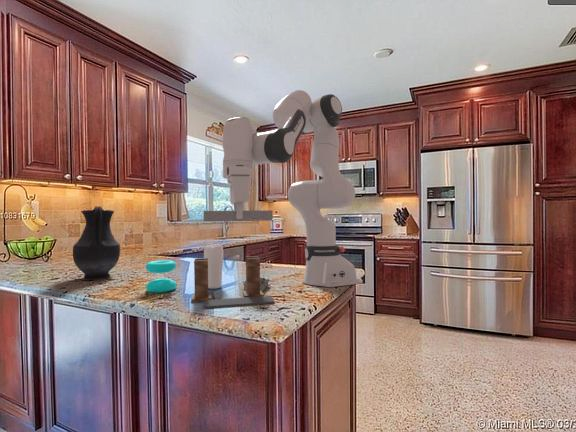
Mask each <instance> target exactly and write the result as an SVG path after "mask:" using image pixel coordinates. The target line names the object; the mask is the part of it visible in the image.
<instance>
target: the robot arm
mask: <svg viewBox="0 0 576 432" xmlns="http://www.w3.org/2000/svg"><path fill="white" fill-rule="evenodd" d="M342 113H343V107H342V104H341V101H340V100H339V98H338V97H337V96H336V95H335V94H333V93H331V94H330V93H329V94H325V95H323V96H321V97H319V98H315V99H314V100H312V98H311V95H310V94H309V93H308V92H306V91H305V90H301V89H298V90H294V91H292V92H290V93H289V94H287V95H285V96H284V97H283V98H282V99H281V100H279V102H278V103H277V104H276V105H275V107H274V109H273V111H272V119H273V123H274V125H275V127H277V129H274V130H269V131H264V132H259V131H257V130H255V128H254V127H253V126H252V123H251V121H252V120H251V119H250V118H249V117H245V116H238V117H232V118H229V119H227V120H226V121H225V122H224V125H223V128H222V151H223V160H222V177H223V179H226V180H227V184H228V185H230V186H229V187H230V188H229V199H230V204H231V205H233V211H236V218H237V219H242V218H243V211H244V204H245V203H247V202H248V200H249V196H250V186H251V179H253V178H254V166H257V165H258V166H259V165H265V164H280V163H281V164H285V163H287V162H289V161H290V160H291V159H292V157H293V155H294V152H295V149H296V146H297V143H298V141H299V139H300V138H301V135H307V134H310V133H312V132H313V135H314V138H313V141H312V145H311V153H310V160H309V167H310V170H311V172H313V173H314V175H316V176H318V177H321V178H322V179H314V180H302V181H297V182H294V183H292V184H291V185H290V186H289V188H288V192H287V199H288V202H289V203H290V205H291V206H292V208H295V209H296V210H297V211H298V212H299V213H300V216H301V217H302V219H303V221H304V225H305V233H306V244H305V249H304V252H305V253H304V255H305V261H306V262H305V270H304V276H303V279H302V283H304V284H305V285H309V286H317V287H324V288H325V287H326V288H334V287H341V286H342V287H345V286H351V285H359V284H360V285H361V284H363V279H362V278H361V277H358V276H357V271H356V268H355V265H354V264H353V263H351V262H350V261H349V260H347V258H345V257H344V256H342V254H341V253H344V252H345V251H346V248H345V246H338V245H337V243H336V241H337V240H336V238H337V235H336V234H337V232H336V231H337V229H336V224H335V223H334V222H333V221H332V220H331V219H328V218H327V217H325V216H323V215H322V212H321V210H322V209H323V210H325V209H327V210H329V209H331V210H332V209H342V208H347V207H350V206H351V205H352V204H353V203H354V201H355V198H356V190H355V187H354V185H353V183H352V182H351V181H349V180H348V179H347V178H346V177H344V176H343V174H342V173H341V171H340V168H339V163H340V162H339V161H340V160H339V157H340V136H339V131H338V130H337V128H336V127H337V126H338V125H339V124H340V119H341V117H342Z"/></svg>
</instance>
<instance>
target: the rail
mask: <svg viewBox="0 0 576 432" xmlns="http://www.w3.org/2000/svg"><path fill="white" fill-rule="evenodd" d="M238 221H239V222H243V221H244V222H249V221H250V222H253V221H255V222H256V221H257V222H258V221H261V222H265V221H268V222H269V221H273V210H270V209H268V210H243V218H242V219H237V218H236V211H234V210H203V222H238Z"/></svg>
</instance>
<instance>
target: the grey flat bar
mask: <svg viewBox="0 0 576 432" xmlns="http://www.w3.org/2000/svg"><path fill="white" fill-rule="evenodd" d="M275 302H276V301H275V300H274V298H273V297H272V296H271V295H264V296H259V297H244V296H243V297H233V298H232V297H231V298H220V299H219V298H217V299H212V300H205V302H204V310H205V309H214V308H215V309H219V308H229V307H233V308H234V307H244V306H245V307H246V306H258V305H272V304H276V303H275Z"/></svg>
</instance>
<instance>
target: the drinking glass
mask: <svg viewBox="0 0 576 432" xmlns="http://www.w3.org/2000/svg"><path fill="white" fill-rule="evenodd" d="M203 258H208V290H209V289H210V290H216V289H217V290H218V289H220V288H221V287H222V286H223V285H222V284H223V283H222V282H223V279H222V278H223V269H224V267H223V265H224V245H221V244H211V245H210V244H209V245H204V246H203Z"/></svg>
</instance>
